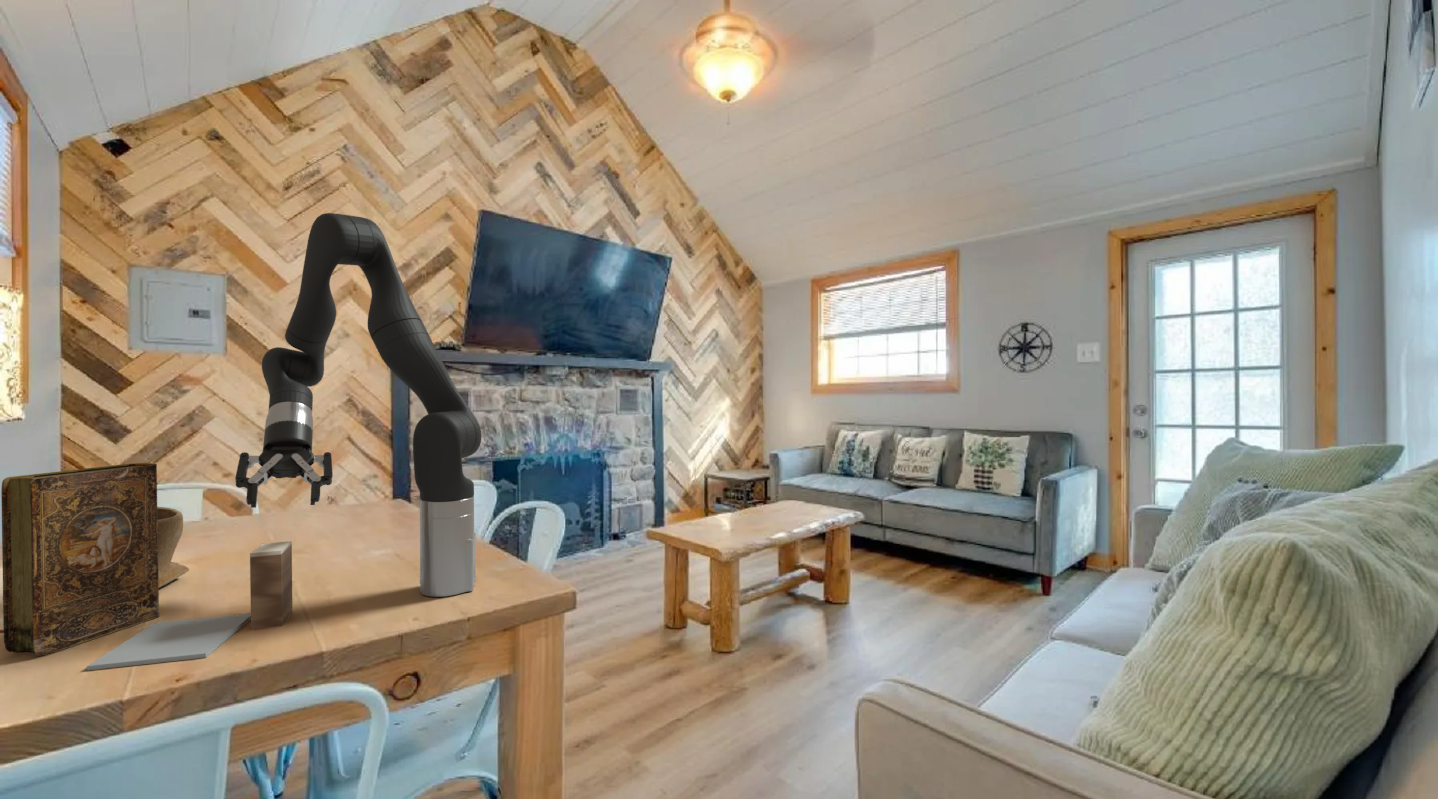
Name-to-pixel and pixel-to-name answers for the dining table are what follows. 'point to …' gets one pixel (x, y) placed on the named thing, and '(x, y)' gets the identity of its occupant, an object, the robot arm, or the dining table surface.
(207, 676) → the dining table surface
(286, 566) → the brown rectangular block
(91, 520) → the book
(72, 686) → the dining table surface
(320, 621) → the dining table surface
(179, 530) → the stone cup
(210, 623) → the felt mat
